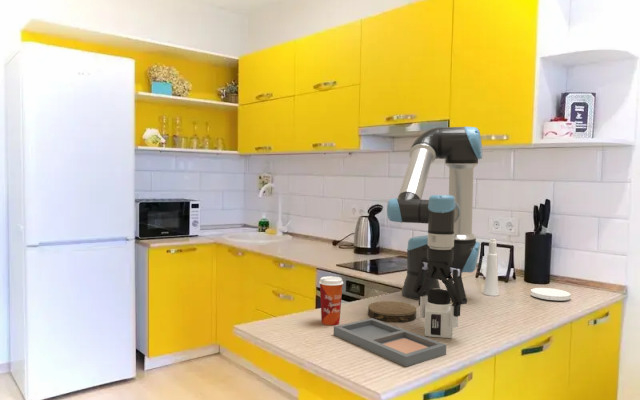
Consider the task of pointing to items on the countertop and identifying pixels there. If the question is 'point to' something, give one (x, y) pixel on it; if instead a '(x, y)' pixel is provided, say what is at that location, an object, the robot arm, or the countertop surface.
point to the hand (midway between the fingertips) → (438, 322)
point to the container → (438, 314)
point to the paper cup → (330, 299)
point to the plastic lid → (550, 294)
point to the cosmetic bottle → (491, 271)
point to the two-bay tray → (390, 341)
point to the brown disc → (392, 311)
